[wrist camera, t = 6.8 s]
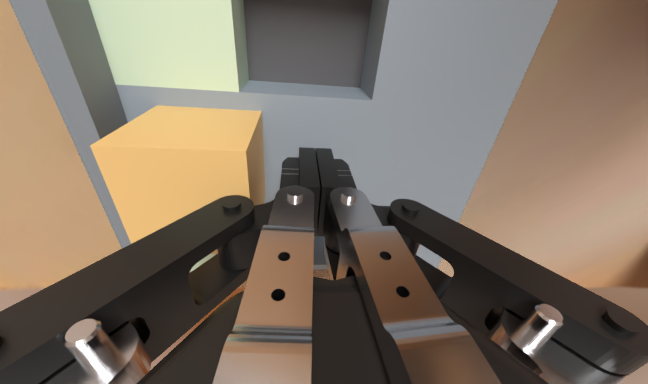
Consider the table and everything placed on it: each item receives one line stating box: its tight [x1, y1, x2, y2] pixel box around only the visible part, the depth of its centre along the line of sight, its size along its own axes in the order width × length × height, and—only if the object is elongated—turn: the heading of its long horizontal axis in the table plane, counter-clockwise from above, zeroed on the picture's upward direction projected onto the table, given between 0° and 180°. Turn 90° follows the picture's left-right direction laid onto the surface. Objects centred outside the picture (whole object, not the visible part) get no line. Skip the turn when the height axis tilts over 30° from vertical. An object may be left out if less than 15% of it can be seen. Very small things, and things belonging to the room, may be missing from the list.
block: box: [90, 105, 265, 254], centre depth 11 cm, size 4×4×4 cm
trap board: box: [9, 0, 558, 272], centre depth 14 cm, size 19×17×5 cm
